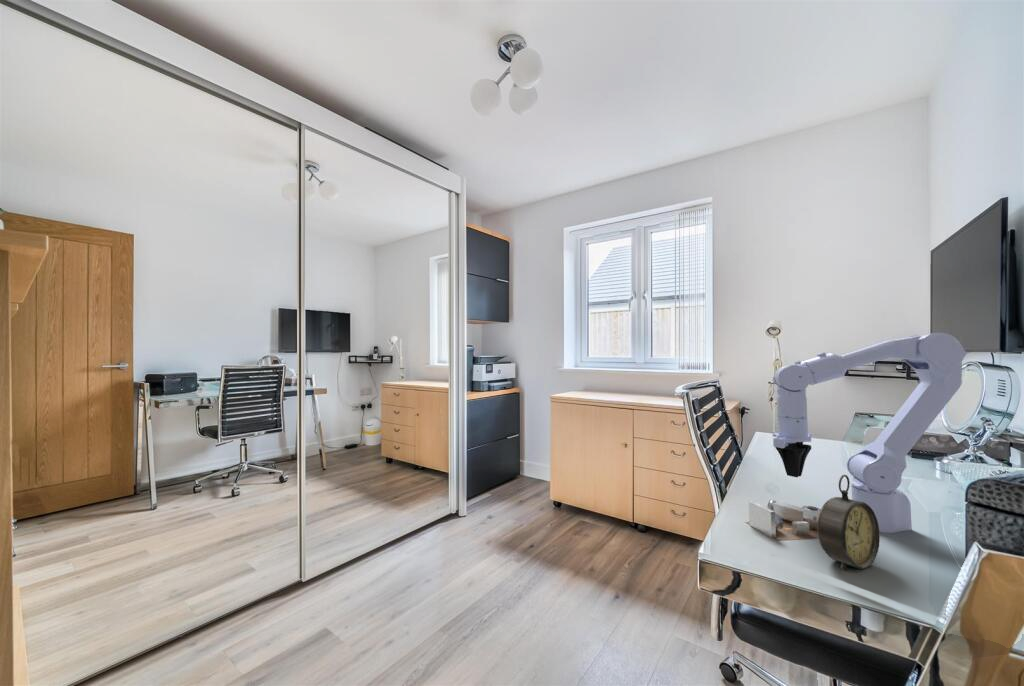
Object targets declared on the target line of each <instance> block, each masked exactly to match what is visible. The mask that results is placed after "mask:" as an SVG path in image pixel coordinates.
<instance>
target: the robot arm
mask: <svg viewBox="0 0 1024 686" xmlns="http://www.w3.org/2000/svg"><path fill="white" fill-rule="evenodd" d="M966 355H967V352H966V350H965V349H964V347H963V345H962V343H961V342H960V340H959V339H958V338H956V337H955V336H953V335H951V334H949V333H947V332H946V333H945V332H933V333H929V334H920V335H918V334H917V335H916V334H914V335H909V336H907V337H900V338H894V339H889V340H885V341H881V342H878V343H875V344H873V345H870V346H866V347H863V348H861V349H858V350H855V351H852V352H848V353H845V354H843V355H839V354H836V353H833V352H828V353H826V352H820V353H817V354H816V357H813V358H809V359H806V360H803V361H801V360H796V361H794V362H793V363H794V364H790V365H784V366H782V367H779V368H778V369H777V370H776V371H775V373H774V376H773V378H772V380H773V382H774V384H775V385H776V386H777V387H776V388H777V389H776V393H777V396H776V410H777V411H776V414H777V416H776V417H777V432H773V433H772V437H773V448H775V449H776V451H777V452H778V454H779V455H780V458H781V460H782V463H783V466H784V469H785V473H786V475H787V476H789V477H792V478H799V477H802V475H803V470H804V467H805V462H806V459H807V457H808V456H809V454H810V451H812V445H810V444H806V442H807V443H810V442H812V433H810V432H809V430H808V429H809V427H808V425H809V424H808V405H807V404H808V403H807V402H808V399H807V394H806V393H807V392H806V391H807V388H808V387H809V385H810V386H813V385H817V384H821V383H825V382H828V381H831V380H834V379H839V378H842V377H844V376H845V374H846V372H847V371H848V370H849V369H852V368H856V367H860V366H863V365H867V364H868V365H869V364H872V363H876V362H878V361H883V360H887V359H891V360H892V359H894V360H903V361H904V362H905V363H906V364H908V366H910V368H912V370H914V372H915V373H916V375H917V377H918V379H919V383H918V384H917V386H916V387H915V389H914V390H913V391H912V392H911V394H910V395H909V396H908V398H907V399H906V400H905V401H904V402H903V404H902V405H901V406H900V408H899V409H898V411H897V412H896V413H895V415H893V417H892V418H891V420H890V421H889V422H888V424H886V426H885V427H884V429H883V430H882V431H881V433H880V434H879V435H878V437H876V439H875V440H874V441H872V442H870V443H868V444H866V445H865V446H864V447H863V448H862V449H861V450H860V451H859V452H857V453H855V454H852V455H851V456H850V457H848V458H847V461H846V467H847V471H848V473H849V474H850V475H851V476H852V480H851V482H850V484H851V487H850V488H851V500H855V501H860V502H864V503H866V504H867V505H869V506H870V507H871V508H872V510H873V511H874V513H875V516H876V518H877V521H878V525H879V533H887V534H890V533H892V534H895V533H898V532H902V531H903V532H905V531H913V526H912V507H911V506H912V505H911V502H910V499H909V498H908V496H907V495H906V494H905V493H904V492H903V491H901V490H900V489H899V487H900V485H901V484H902V478H903V477H902V475H903V472H904V471H905V470H906V468H907V460H906V459H907V458H906V456H907V455H908V453H909V452H910V451H911V450H912V448H913V447H915V446H914V445H916V443H917V442H918V441H919V440H920V439H921V437H922V436H923V435H924V433H925V432H926V431H927V429H928V428H929V427H930V426H931V424H933V422H934V421H935V419H936V418H937V417H938V416H939V415H940V413H941V412H942V411H943V410H944V408H945V407H946V406H947V404H948V403H949V402H950V401H951V400H952V398H953V397H954V395H956V393H957V392H958V390H959V389H960V388H961V386H962V382H963V379H962V376H963V374H962V373H963V360H965V359H964V358H966ZM804 443H805V444H804Z"/></svg>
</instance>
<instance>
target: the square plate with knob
mask: <svg viewBox="0 0 1024 686" xmlns="http://www.w3.org/2000/svg"><path fill="white" fill-rule="evenodd" d="M748 511H749V512H748V515H749V517H748V518H749V521H748V522H750V525H751V526H750V525H749V526H750V527H752V528H754V529H755V528H756V529H755V530H757V529H758V530H757V531H759V532H760V533H762V534H764V533H765V534H764V535H766V534H767V535H766V536H768V537H770V538H772V537H776V530H780V529H782V528H783V520H784V519H782V518H781V517H780V515H779V514H777V513H775V511H773V510H771V509H768V508H767V506H764V505H762V504H760V503H758V502H756V501H754V500H753V501H751V500H750V501H748ZM792 533H794V534H796V535H801V534H809V523H808V522H806V521H797V522H792Z"/></svg>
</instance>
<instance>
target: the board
mask: <svg viewBox="0 0 1024 686" xmlns="http://www.w3.org/2000/svg"><path fill="white" fill-rule="evenodd" d="M782 520H783V528H782V529H780V530H776V537H771V539H774V540H775V541H777V542H778V541H779V542H781V541H782V542H783V541H795V540H798V541H799V540H809V539H810V540H814V539H819V536H818V530H815V529H810V528H809V534H801V535H796V534H794V533H792V521H789V520H785V519H782ZM744 523H745V524H746V525H748V526H750V527H752V526H751V525H750V522H749V521H744ZM754 529H755V530H757V531H759V530H758V529H756V528H754ZM763 534H764V535H766V536H768V535H767V534H765V533H763Z"/></svg>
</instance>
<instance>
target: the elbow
mask: <svg viewBox="0 0 1024 686" xmlns="http://www.w3.org/2000/svg"><path fill="white" fill-rule="evenodd" d="M766 508H768V509H771V510H773V511H775V513H777V514H779V515H780V517H781V518H782V520H789V521H792V522H797V521H806V522H808V523H809V528H810V529H815V530H818V518H819V514H820V511H821V509H822V508H819V507H816V506H814V505H813V506H812V505H803V506H802V507H800V506H797V505H794V504H789V503H785V502H782V501H779V500H772V499H770V500H769V501H768V503H767V506H766Z"/></svg>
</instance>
